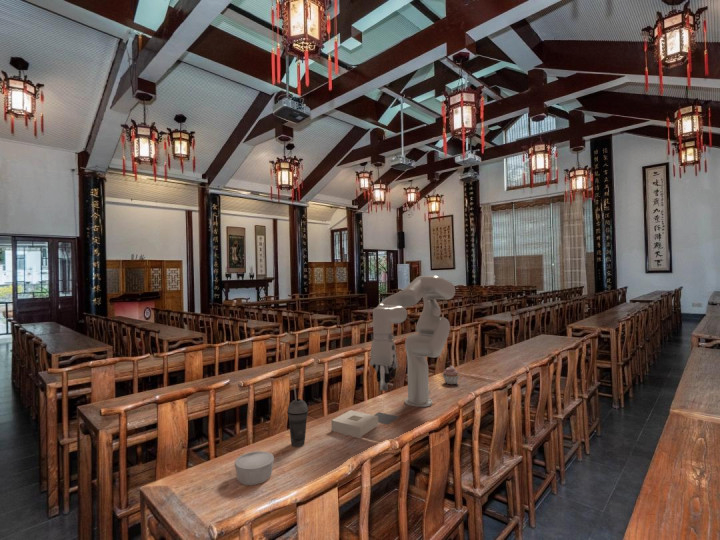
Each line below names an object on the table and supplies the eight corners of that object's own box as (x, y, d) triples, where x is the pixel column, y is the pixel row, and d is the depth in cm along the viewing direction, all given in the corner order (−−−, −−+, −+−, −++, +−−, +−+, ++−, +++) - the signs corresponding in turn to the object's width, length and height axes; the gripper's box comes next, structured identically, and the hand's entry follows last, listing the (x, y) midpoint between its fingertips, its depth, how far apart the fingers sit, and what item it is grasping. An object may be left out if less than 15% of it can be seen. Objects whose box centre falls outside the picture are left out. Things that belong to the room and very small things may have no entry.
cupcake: (441, 381, 211) (441, 363, 211) (459, 381, 209) (458, 363, 210) (442, 385, 202) (442, 366, 202) (460, 386, 200) (460, 367, 200)
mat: (378, 413, 161) (378, 412, 161) (399, 417, 156) (399, 416, 156) (366, 420, 153) (366, 419, 153) (388, 425, 147) (388, 424, 147)
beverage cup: (304, 449, 127) (303, 390, 128) (284, 448, 129) (283, 389, 129) (311, 440, 134) (310, 384, 135) (292, 439, 136) (291, 383, 136)
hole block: (350, 419, 154) (350, 410, 154) (378, 426, 147) (378, 416, 147) (331, 430, 143) (331, 420, 143) (360, 438, 136) (360, 427, 136)
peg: (382, 387, 157) (381, 359, 157) (388, 388, 155) (388, 359, 155) (378, 389, 154) (378, 360, 154) (385, 390, 153) (384, 361, 153)
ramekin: (259, 464, 118) (259, 447, 118) (282, 475, 111) (282, 457, 111) (226, 479, 109) (226, 460, 109) (249, 492, 102) (249, 473, 102)
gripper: (404, 337, 154) (405, 382, 154) (370, 334, 163) (371, 377, 162) (396, 340, 147) (397, 387, 147) (361, 337, 156) (362, 381, 156)
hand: (383, 381), depth 155 cm, fingers closed on peg, 3 cm apart
